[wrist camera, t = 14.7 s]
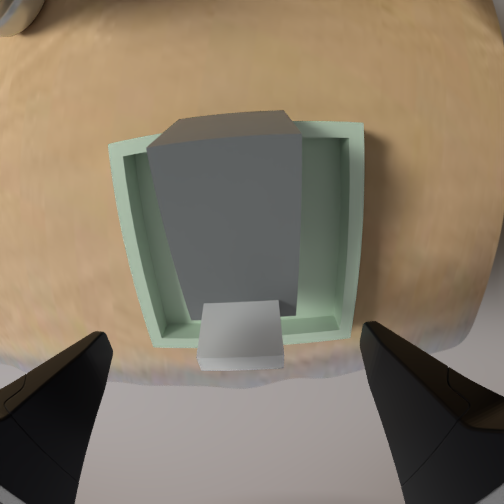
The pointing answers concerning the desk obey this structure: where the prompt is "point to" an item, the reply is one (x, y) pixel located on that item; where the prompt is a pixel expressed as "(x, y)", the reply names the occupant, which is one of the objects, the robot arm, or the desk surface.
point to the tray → (311, 238)
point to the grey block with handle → (233, 229)
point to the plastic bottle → (17, 15)
